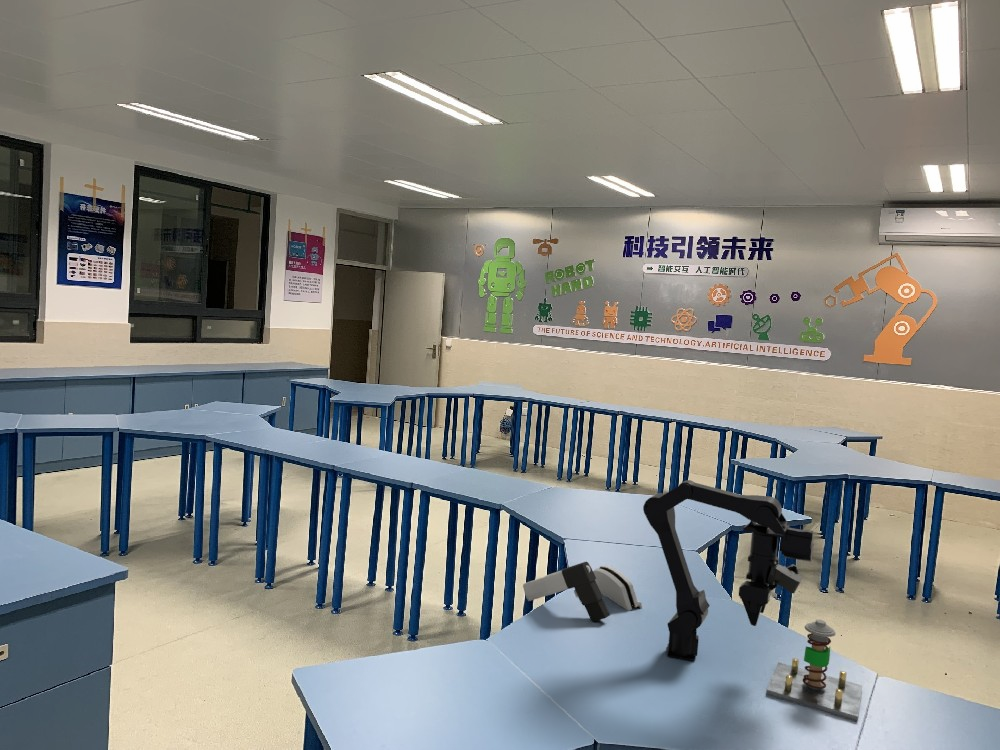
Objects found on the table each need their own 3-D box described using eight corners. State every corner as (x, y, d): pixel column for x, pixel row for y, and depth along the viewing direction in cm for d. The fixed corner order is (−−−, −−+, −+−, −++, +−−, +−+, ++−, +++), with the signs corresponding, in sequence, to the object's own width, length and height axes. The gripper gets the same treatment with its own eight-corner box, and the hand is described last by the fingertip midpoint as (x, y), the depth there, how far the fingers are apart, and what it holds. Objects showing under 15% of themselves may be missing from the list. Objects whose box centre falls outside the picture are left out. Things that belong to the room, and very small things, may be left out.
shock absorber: (821, 680, 165) (828, 616, 164) (834, 695, 159) (841, 628, 158) (793, 678, 165) (800, 614, 164) (805, 693, 159) (812, 626, 158)
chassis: (766, 694, 159) (767, 676, 159) (777, 667, 173) (779, 650, 173) (857, 721, 151) (859, 702, 150) (861, 690, 165) (863, 672, 164)
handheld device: (604, 618, 190) (583, 562, 193) (538, 637, 201) (519, 584, 204) (611, 614, 193) (590, 559, 196) (545, 632, 204) (527, 580, 208)
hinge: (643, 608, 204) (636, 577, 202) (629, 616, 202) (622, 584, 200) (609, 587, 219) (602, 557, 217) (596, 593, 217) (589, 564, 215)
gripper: (795, 571, 155) (788, 642, 156) (806, 550, 171) (800, 614, 172) (741, 559, 160) (735, 628, 161) (756, 540, 177) (751, 603, 178)
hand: (757, 618), depth 168 cm, fingers open, 9 cm apart
